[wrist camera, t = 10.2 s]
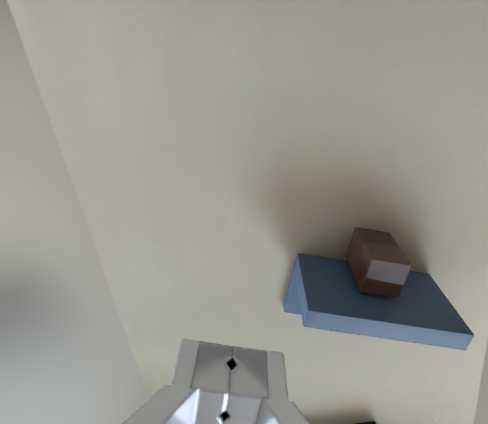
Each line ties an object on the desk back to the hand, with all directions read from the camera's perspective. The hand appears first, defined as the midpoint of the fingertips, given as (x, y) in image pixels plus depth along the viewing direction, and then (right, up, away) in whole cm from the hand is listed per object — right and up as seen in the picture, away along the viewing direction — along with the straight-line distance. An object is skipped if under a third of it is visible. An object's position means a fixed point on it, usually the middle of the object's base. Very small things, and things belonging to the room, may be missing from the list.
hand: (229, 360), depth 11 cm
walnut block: (+14, -1, +28) cm, 32 cm away
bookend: (+14, -5, +34) cm, 37 cm away
